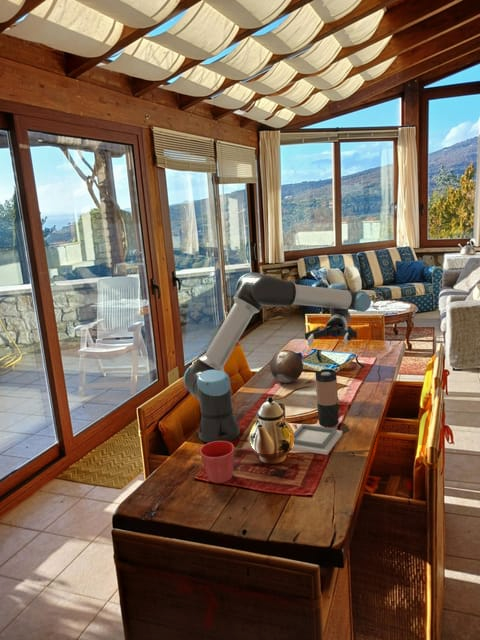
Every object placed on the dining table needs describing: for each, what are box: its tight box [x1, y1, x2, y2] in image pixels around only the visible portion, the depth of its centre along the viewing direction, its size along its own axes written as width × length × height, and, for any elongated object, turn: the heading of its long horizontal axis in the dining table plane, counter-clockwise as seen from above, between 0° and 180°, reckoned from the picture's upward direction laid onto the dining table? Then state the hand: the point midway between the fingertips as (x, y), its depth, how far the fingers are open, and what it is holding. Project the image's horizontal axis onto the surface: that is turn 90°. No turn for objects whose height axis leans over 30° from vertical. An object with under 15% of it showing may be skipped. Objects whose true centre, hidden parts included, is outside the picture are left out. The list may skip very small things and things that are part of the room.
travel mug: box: [315, 368, 339, 428], centre depth 190 cm, size 8×8×20 cm
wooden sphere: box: [269, 349, 304, 384], centre depth 238 cm, size 15×15×15 cm
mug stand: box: [292, 424, 343, 456], centre depth 179 cm, size 16×16×2 cm
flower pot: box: [199, 441, 235, 484], centre depth 161 cm, size 11×11×10 cm
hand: (326, 342), depth 194 cm, fingers open, 13 cm apart
